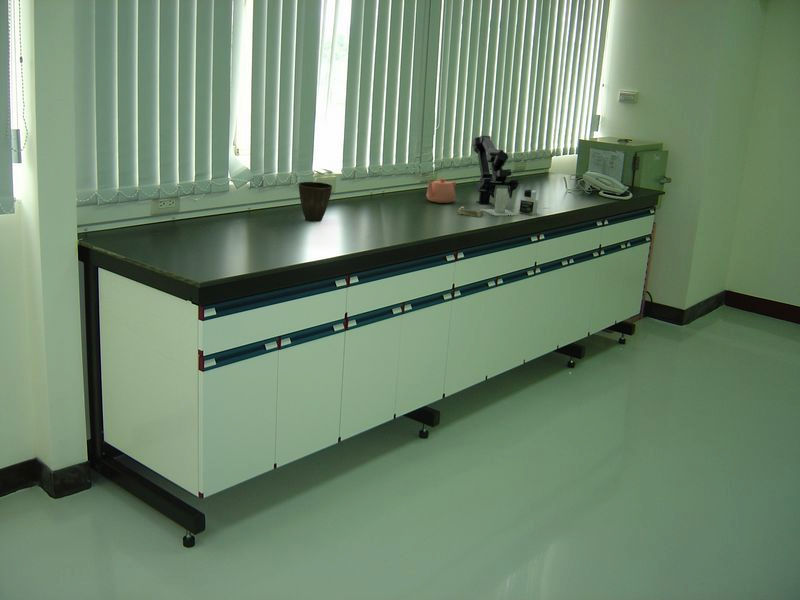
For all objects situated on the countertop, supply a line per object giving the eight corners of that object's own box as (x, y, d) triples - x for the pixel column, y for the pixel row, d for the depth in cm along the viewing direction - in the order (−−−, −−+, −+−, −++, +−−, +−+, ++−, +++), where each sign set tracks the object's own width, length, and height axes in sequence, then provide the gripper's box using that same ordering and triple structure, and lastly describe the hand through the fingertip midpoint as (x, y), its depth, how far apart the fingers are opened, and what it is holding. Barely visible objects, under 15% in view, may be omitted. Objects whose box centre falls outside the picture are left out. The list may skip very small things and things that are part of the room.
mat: (481, 210, 436) (481, 209, 435) (505, 210, 441) (505, 209, 441) (494, 215, 423) (494, 215, 423) (518, 215, 429) (518, 214, 429)
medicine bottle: (519, 213, 436) (521, 189, 432) (523, 211, 442) (526, 188, 438) (532, 215, 433) (535, 191, 429) (536, 213, 439) (539, 190, 435)
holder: (461, 211, 428) (461, 206, 428) (482, 214, 426) (483, 209, 425) (457, 214, 421) (458, 209, 420) (479, 216, 418) (479, 211, 418)
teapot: (434, 205, 438) (436, 182, 435) (414, 200, 449) (416, 177, 445) (464, 202, 453) (466, 179, 449) (443, 197, 463) (445, 175, 460)
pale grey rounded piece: (492, 210, 434) (495, 187, 430) (502, 211, 435) (505, 188, 432) (498, 214, 427) (500, 190, 423) (508, 214, 428) (510, 190, 425)
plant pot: (328, 217, 391) (330, 182, 386) (331, 224, 377) (333, 188, 372) (296, 215, 388) (297, 181, 384) (298, 222, 374) (299, 187, 370)
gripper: (484, 162, 426) (489, 188, 419) (519, 163, 431) (525, 189, 424) (478, 175, 436) (483, 200, 429) (512, 176, 440) (517, 201, 433)
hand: (502, 197), depth 428 cm, fingers open, 9 cm apart
